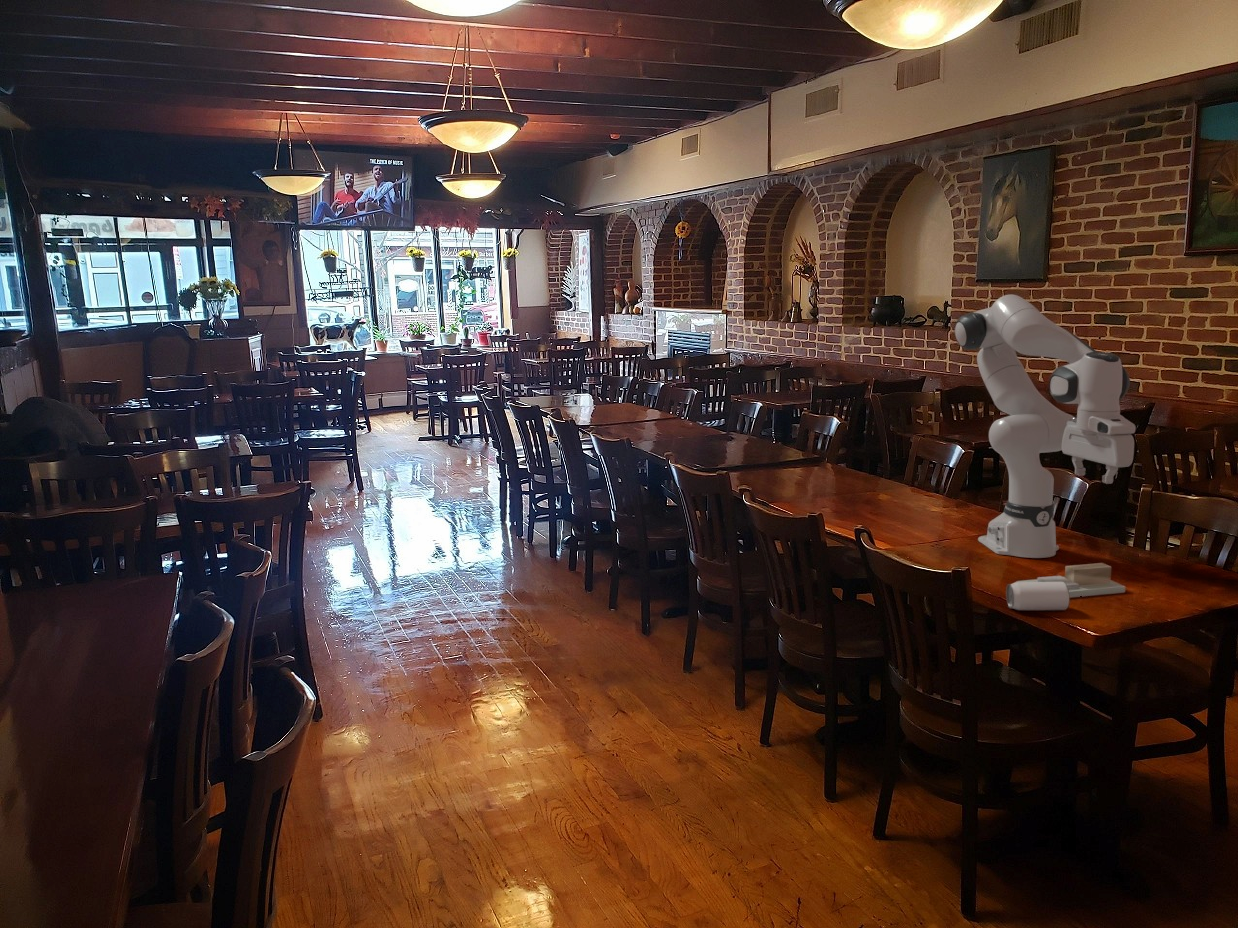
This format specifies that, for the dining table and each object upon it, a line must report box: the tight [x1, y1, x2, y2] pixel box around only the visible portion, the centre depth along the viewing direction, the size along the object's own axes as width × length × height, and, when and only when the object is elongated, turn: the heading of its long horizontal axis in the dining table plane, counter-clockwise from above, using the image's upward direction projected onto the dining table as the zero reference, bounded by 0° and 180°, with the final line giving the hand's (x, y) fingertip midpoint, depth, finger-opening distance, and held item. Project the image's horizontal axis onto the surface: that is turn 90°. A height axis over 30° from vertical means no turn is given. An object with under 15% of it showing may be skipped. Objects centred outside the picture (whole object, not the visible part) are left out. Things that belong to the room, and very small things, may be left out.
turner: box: [1036, 562, 1112, 589], centre depth 210 cm, size 7×16×4 cm, turn 100°
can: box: [1005, 581, 1071, 611], centre depth 198 cm, size 6×6×12 cm
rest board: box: [1015, 576, 1126, 599], centre depth 210 cm, size 10×22×2 cm, turn 100°
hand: (1093, 479), depth 206 cm, fingers open, 8 cm apart
